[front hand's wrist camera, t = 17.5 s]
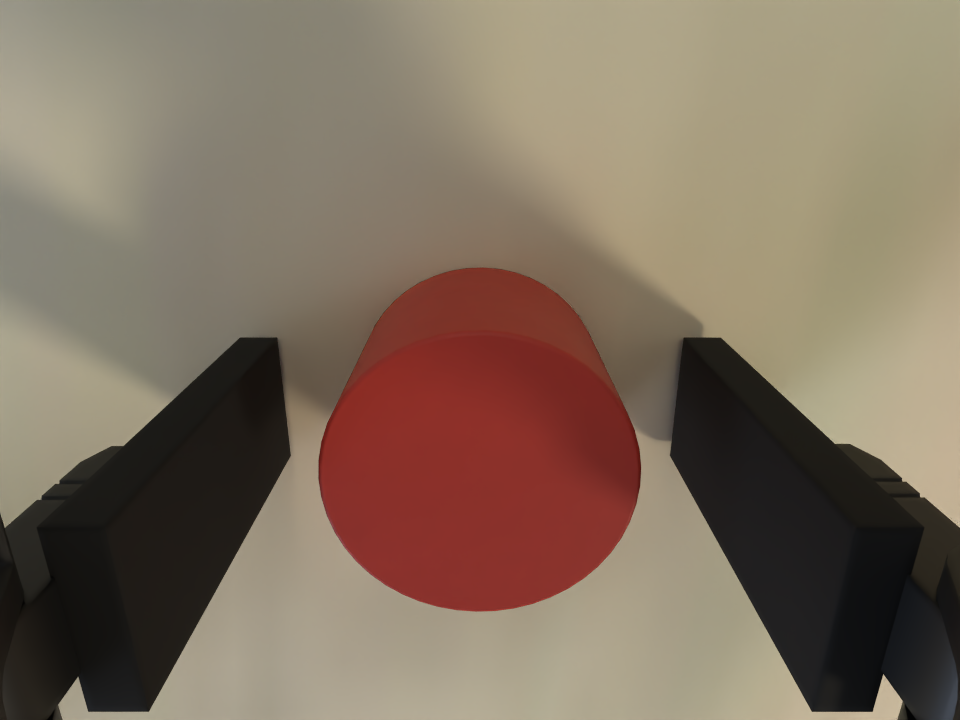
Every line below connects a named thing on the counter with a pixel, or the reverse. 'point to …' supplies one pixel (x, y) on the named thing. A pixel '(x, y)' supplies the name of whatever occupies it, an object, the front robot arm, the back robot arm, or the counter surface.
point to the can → (479, 446)
